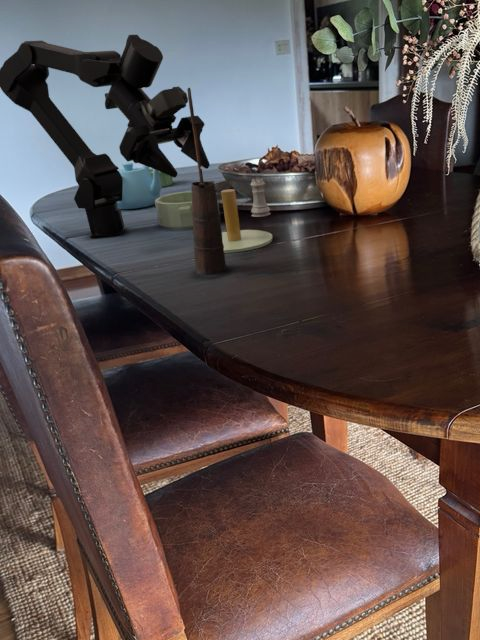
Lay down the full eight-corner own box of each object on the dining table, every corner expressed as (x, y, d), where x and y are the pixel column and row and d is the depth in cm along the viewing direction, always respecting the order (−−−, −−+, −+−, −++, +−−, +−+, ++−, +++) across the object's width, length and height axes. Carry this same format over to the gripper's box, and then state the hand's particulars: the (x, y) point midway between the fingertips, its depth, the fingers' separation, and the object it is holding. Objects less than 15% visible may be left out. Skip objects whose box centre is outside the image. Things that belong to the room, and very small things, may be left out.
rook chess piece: (268, 219, 143) (264, 181, 138) (248, 219, 143) (244, 181, 139) (273, 214, 146) (269, 177, 142) (254, 214, 147) (250, 178, 143)
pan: (155, 235, 137) (150, 208, 134) (163, 216, 153) (159, 192, 150) (219, 228, 138) (216, 202, 135) (220, 210, 154) (217, 186, 151)
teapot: (112, 214, 160) (102, 170, 154) (102, 204, 171) (92, 163, 166) (170, 205, 165) (162, 162, 159) (156, 196, 176) (148, 156, 171)
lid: (196, 259, 118) (186, 202, 113) (199, 240, 130) (190, 187, 125) (275, 251, 119) (269, 193, 114) (270, 232, 131) (265, 180, 126)
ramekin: (143, 185, 195) (140, 169, 193) (173, 181, 197) (170, 166, 195) (145, 189, 187) (142, 173, 185) (176, 185, 189) (173, 169, 187)
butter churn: (232, 283, 104) (204, 88, 90) (176, 284, 106) (140, 93, 92) (246, 266, 112) (223, 84, 98) (194, 267, 114) (163, 89, 99)
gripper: (115, 75, 109) (176, 146, 109) (188, 68, 123) (242, 131, 123) (95, 127, 117) (152, 193, 117) (165, 115, 130) (216, 174, 131)
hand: (192, 171), depth 122 cm, fingers open, 9 cm apart
